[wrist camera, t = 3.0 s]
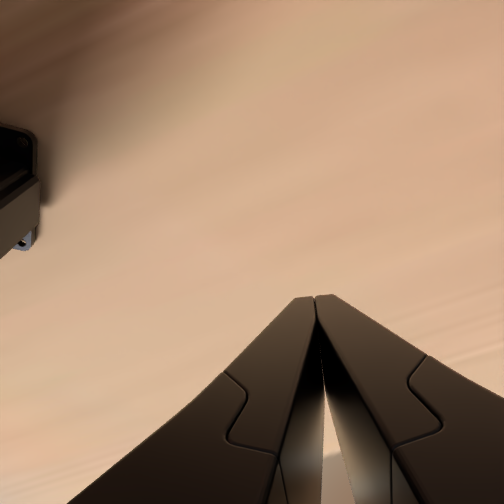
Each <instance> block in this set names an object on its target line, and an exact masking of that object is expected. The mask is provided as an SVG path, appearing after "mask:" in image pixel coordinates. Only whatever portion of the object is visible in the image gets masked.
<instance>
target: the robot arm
mask: <svg viewBox="0 0 504 504" xmlns="http://www.w3.org/2000/svg"><path fill="white" fill-rule="evenodd" d="M21 137H23V138H25V139H26V140H27V142H28V145H25V144H23V143H22V141H21ZM36 168H37V139H36V137H35V136H34V134H33V133H31V132H30V131H28V130H25V129H21V128H18V127H14V126H10V125H6V124H3V123H0V259H1V258H2V257H3V256H4V255H5V254H6V253H8V252H9V251H10V250H11V249H12V248H13V249H17V250H21V251H26V250H29V249H30V248H31V247H32V246H33V245H34V242H35V227H36V226H37V225H38V224H39V207H40V180H39V178H38V176H37V175H36ZM22 239H24V240H25V241H26V243H24V242H22V241H21V240H22ZM315 308H316V309H315ZM319 343H320V344H319ZM320 352H321V353H320ZM321 360H322V362H321ZM322 369H323V371H322ZM323 378H324V380H323ZM324 386H325V391H324ZM325 392H326V397H327V401H328V405H329V409H330V412H331V416H332V419H333V423H334V427H335V430H336V434H337V438H338V441H339V445H340V449H341V452H342V456H343V460H344V463H345V467H346V471H347V474H348V478H349V481H350V485H351V489H352V493H353V496H354V500H355V504H504V398H503V397H501V396H499V395H497V394H495V393H493V392H491V391H490V390H488V389H486V388H484V387H482V386H480V385H478V384H477V383H475V382H473V381H471V380H469V379H467V378H466V377H464V376H462V375H461V374H459V373H457V372H456V371H454V370H452V369H451V368H449V367H447V366H446V365H444V364H442V363H441V362H439V361H438V360H436V359H435V358H433V357H432V356H428V355H427V354H426V353H424V352H423V351H421V350H419V349H418V348H416V347H415V346H413V345H412V344H410V343H409V342H407V341H405V340H404V339H402V338H401V337H399V336H398V335H396V334H395V333H393V332H391V331H390V330H388V329H387V328H385V327H384V326H382V325H381V324H379V323H377V322H376V321H374V320H373V319H371V318H370V317H368V316H367V315H365V314H363V313H362V312H360V311H359V310H357V309H356V308H354V307H353V306H351V305H350V304H348V303H346V302H345V301H343V300H342V299H340V298H339V297H337V296H336V295H333V294H329V295H319V296H316V297H315V301H314V298H313V297H312V296H309V297H299V298H295V299H293V300H292V301H291V302H290V303H289V305H288V306H287V307H286V308H285V309H284V310H283V311H282V312H281V313H280V314H279V315H278V316H277V317H276V318H275V319H274V320H273V321H272V322H271V323H270V324H269V325H268V326H267V327H266V328H265V329H264V330H263V331H262V332H261V333H260V334H259V335H258V336H257V337H256V338H255V339H254V340H253V341H252V342H251V343H250V344H249V345H248V346H247V347H246V348H245V349H244V351H243V352H242V353H241V354H240V355H239V356H238V357H237V358H236V359H235V360H234V361H233V362H232V363H231V364H230V365H229V366H228V367H227V368H226V369H225V370H224V371H223V372H222V373H220V374H219V375H218V376H217V377H216V378H215V379H214V380H213V381H212V382H211V383H210V384H209V385H208V386H207V387H206V388H205V389H204V390H203V391H202V392H201V393H200V394H199V395H198V396H197V397H196V398H195V399H193V400H192V401H191V402H190V403H189V404H188V405H186V406H185V407H184V408H183V409H182V410H181V411H179V412H178V413H177V414H176V415H175V416H174V417H172V418H171V419H170V420H169V421H167V422H166V423H165V424H164V425H163V426H161V427H160V428H159V429H158V430H156V431H155V432H154V433H153V434H151V435H150V436H149V437H148V438H147V439H145V440H144V441H143V442H142V443H140V444H139V445H138V446H137V447H136V448H134V449H133V450H132V451H131V452H129V453H128V454H127V455H126V456H125V457H123V458H122V459H121V460H120V461H118V462H117V463H116V464H115V465H113V466H112V467H111V468H110V469H109V470H107V471H106V472H105V473H104V474H102V475H101V476H100V477H99V478H98V479H96V480H95V481H94V482H93V483H91V484H90V485H89V486H88V487H86V488H85V489H84V490H83V491H82V492H80V493H79V494H78V495H77V496H75V497H74V498H73V499H72V500H71V501H69V502H68V503H67V504H321V489H322V462H323V435H324V408H325Z"/></svg>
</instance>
